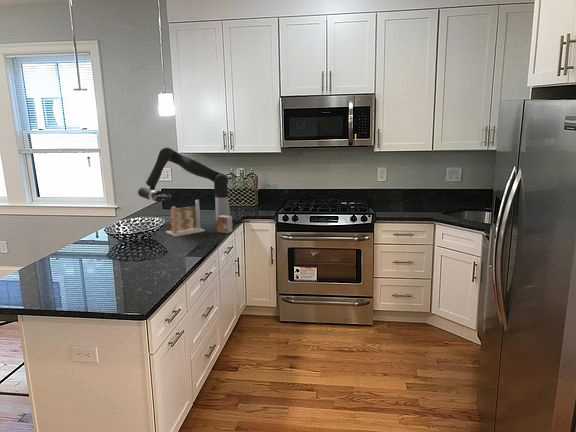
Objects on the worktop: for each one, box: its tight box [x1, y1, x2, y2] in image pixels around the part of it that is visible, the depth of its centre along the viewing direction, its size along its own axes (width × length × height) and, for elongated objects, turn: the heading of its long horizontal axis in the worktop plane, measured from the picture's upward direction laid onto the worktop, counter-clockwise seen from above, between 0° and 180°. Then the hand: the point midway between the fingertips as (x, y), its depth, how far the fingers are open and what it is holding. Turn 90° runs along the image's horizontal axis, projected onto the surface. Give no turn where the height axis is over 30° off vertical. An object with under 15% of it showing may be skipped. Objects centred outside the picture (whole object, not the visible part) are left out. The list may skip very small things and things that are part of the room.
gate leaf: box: [169, 205, 197, 232], centre depth 289 cm, size 17×1×15 cm, turn 132°
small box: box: [216, 215, 233, 234], centre depth 292 cm, size 8×6×10 cm
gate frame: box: [165, 199, 206, 237], centre depth 291 cm, size 21×13×20 cm, turn 132°
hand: (168, 198), depth 296 cm, fingers closed
